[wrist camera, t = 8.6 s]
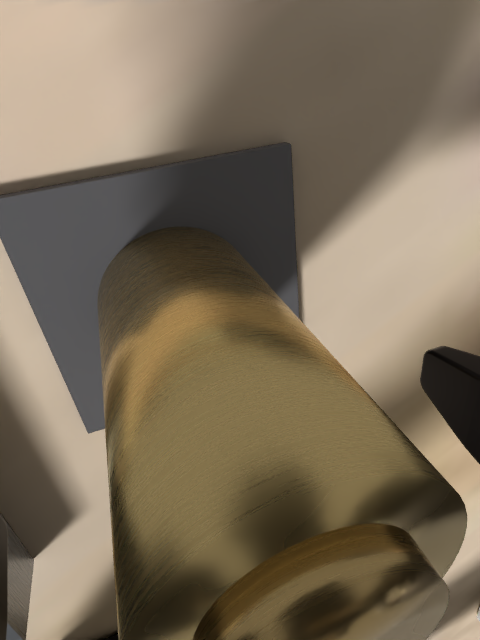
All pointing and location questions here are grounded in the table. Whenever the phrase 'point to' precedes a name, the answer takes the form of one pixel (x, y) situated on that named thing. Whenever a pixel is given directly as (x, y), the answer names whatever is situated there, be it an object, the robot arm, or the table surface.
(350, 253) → the table surface
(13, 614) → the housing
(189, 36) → the table surface
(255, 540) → the brass cylinder
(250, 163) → the mat
